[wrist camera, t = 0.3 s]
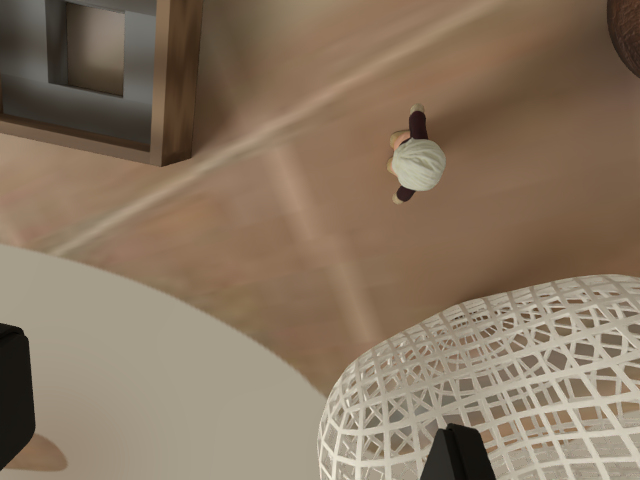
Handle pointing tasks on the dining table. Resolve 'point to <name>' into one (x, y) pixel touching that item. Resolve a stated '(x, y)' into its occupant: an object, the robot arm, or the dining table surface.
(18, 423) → the robot arm
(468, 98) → the dining table surface
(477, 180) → the dining table surface
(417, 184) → the grandmother figurine
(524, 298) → the heart
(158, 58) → the walnut box
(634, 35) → the wooden sphere
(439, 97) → the dining table surface
